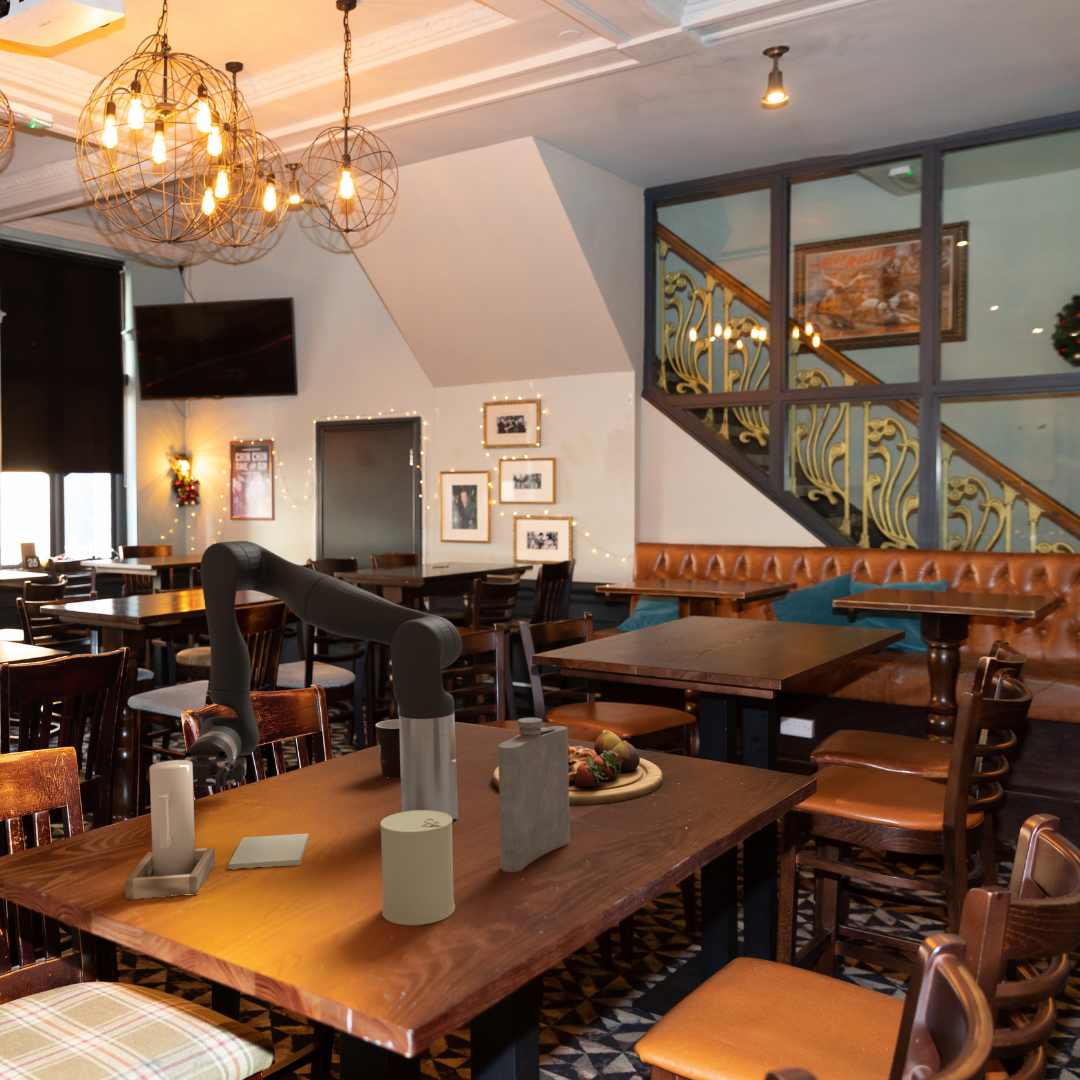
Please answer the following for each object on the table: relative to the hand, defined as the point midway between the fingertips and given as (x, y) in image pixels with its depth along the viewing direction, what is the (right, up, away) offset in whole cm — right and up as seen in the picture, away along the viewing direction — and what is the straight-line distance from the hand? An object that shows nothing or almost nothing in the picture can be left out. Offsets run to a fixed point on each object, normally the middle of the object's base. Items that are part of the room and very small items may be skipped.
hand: (188, 783), depth 148 cm
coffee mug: (+26, -9, +45) cm, 52 cm away
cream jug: (+2, -11, -12) cm, 16 cm away
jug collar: (+2, -11, -12) cm, 16 cm away
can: (+38, -10, -24) cm, 46 cm away
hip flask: (+52, -9, -4) cm, 54 cm away
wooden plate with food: (+60, -9, +36) cm, 71 cm away
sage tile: (+13, -10, -1) cm, 16 cm away
